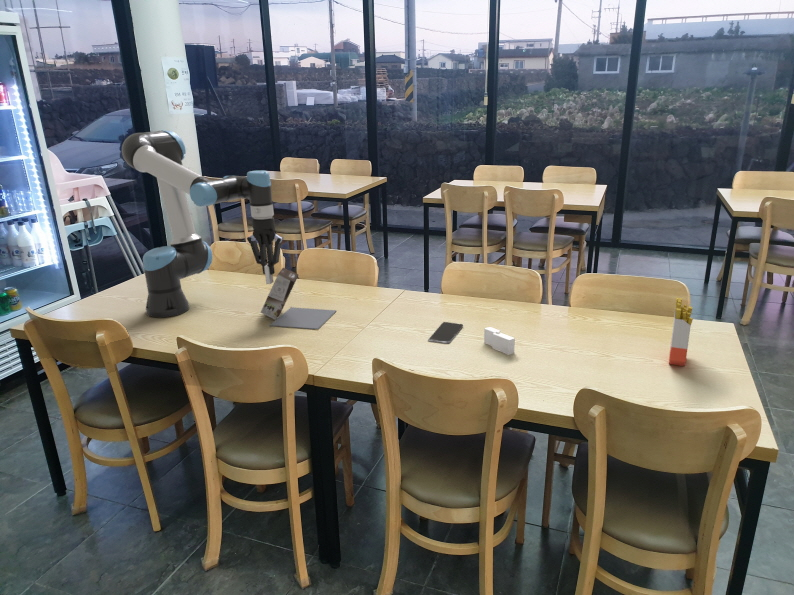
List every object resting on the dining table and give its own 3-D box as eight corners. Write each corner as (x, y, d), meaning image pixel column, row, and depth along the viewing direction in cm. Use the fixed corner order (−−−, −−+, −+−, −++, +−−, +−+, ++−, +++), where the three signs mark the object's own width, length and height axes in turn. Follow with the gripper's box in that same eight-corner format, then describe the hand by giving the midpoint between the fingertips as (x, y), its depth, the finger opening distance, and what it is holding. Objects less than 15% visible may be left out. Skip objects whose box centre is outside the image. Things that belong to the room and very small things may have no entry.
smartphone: (427, 339, 194) (443, 321, 208) (427, 342, 195) (443, 324, 209) (449, 342, 192) (463, 323, 206) (449, 345, 192) (463, 326, 206)
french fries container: (686, 355, 179) (694, 297, 173) (686, 370, 170) (694, 309, 164) (669, 352, 181) (676, 295, 175) (668, 367, 172) (676, 307, 166)
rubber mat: (269, 326, 211) (269, 324, 211) (291, 308, 227) (291, 307, 227) (318, 329, 206) (318, 328, 206) (336, 311, 223) (336, 310, 223)
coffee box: (276, 320, 216) (294, 282, 211) (259, 312, 215) (277, 273, 210) (282, 311, 224) (299, 274, 219) (266, 304, 224) (283, 266, 219)
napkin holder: (522, 358, 182) (522, 340, 180) (483, 359, 182) (484, 341, 180) (513, 338, 196) (513, 321, 194) (477, 339, 196) (478, 322, 194)
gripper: (240, 218, 206) (248, 285, 214) (275, 219, 203) (282, 287, 211) (250, 214, 213) (258, 279, 221) (285, 215, 210) (291, 280, 217)
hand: (269, 282), depth 216 cm, fingers closed
